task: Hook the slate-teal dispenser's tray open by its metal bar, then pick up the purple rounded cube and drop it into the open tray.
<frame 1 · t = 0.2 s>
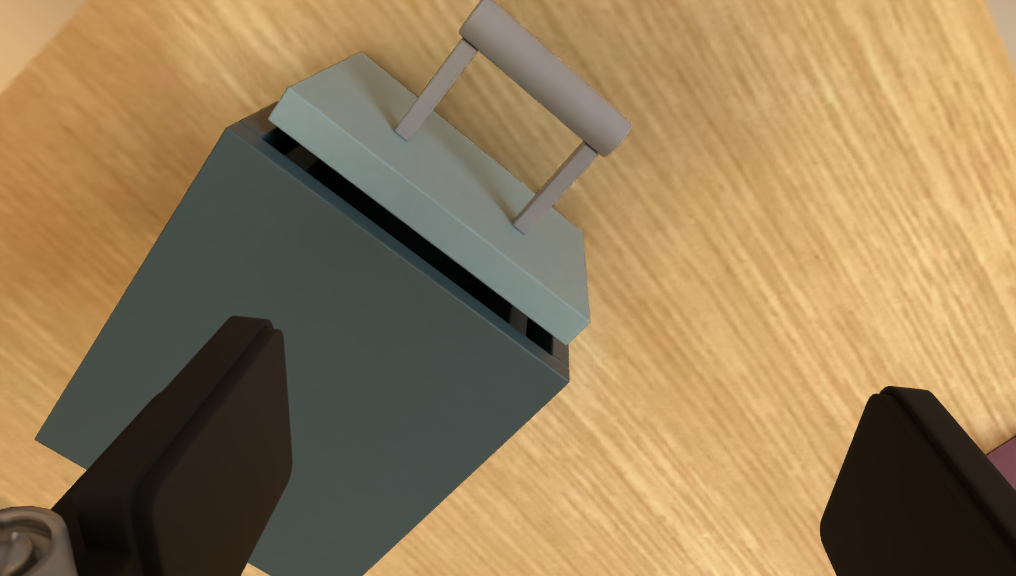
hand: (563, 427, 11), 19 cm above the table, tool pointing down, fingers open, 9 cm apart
dispenser: (361, 287, 31), on the table
tray: (397, 257, 25), point 5 cm above the table, slide at 0.5 cm
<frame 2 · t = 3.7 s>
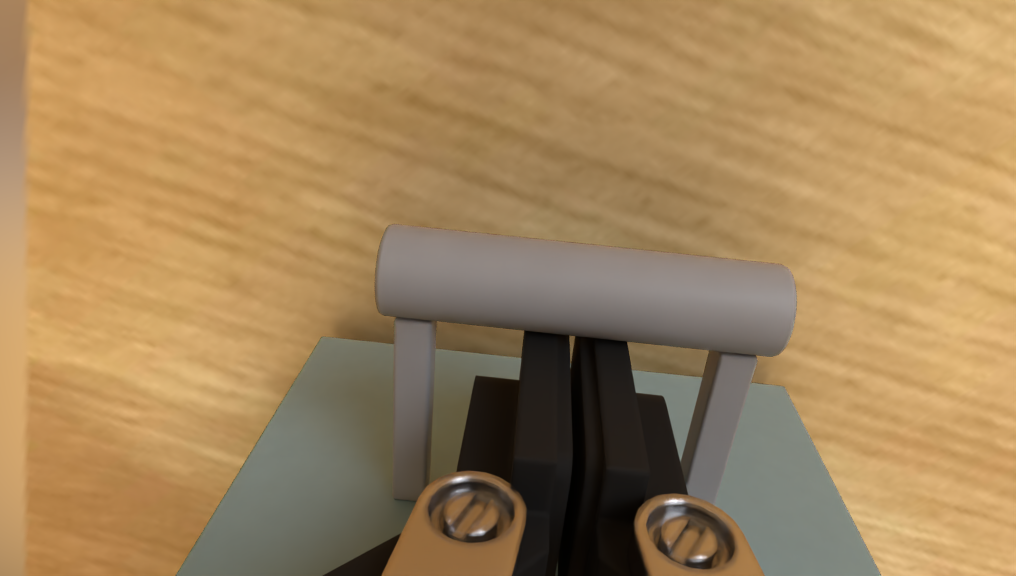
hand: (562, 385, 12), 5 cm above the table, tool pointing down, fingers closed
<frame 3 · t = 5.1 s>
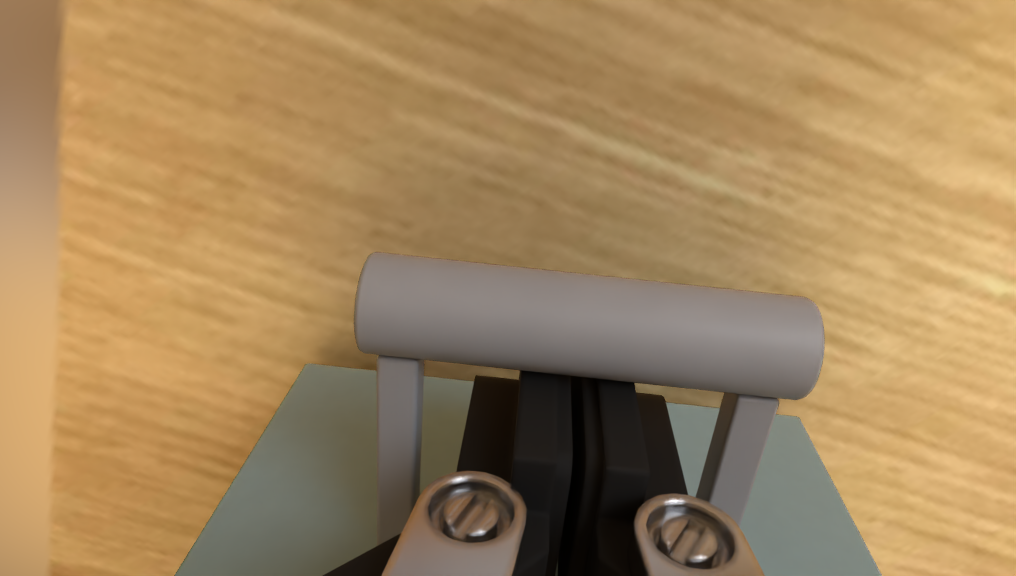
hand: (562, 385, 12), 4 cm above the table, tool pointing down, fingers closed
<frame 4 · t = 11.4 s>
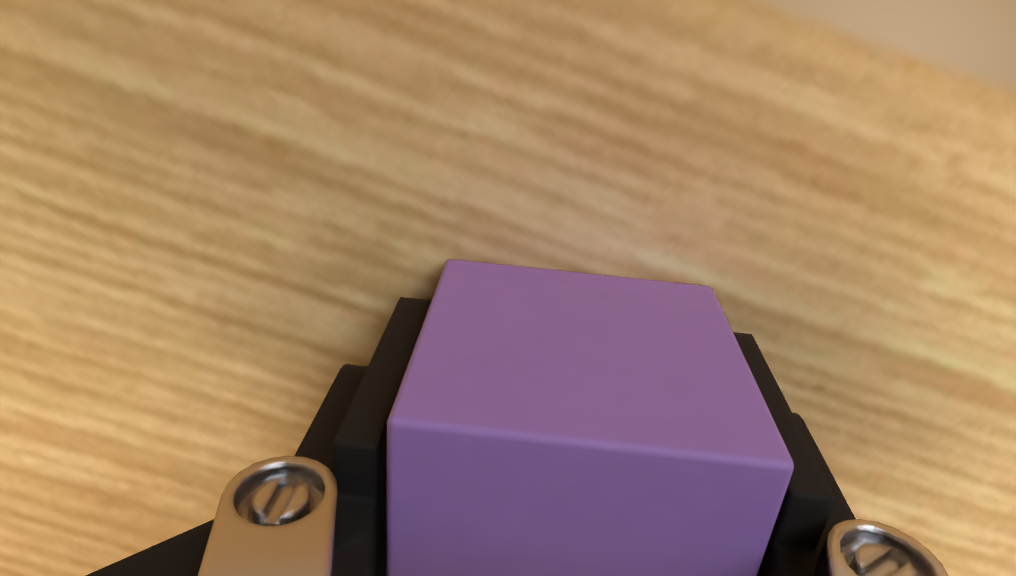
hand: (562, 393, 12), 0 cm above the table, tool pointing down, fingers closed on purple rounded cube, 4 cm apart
purple rounded cube: (562, 381, 12), on the table, touching gripper
when the fingers open (12 cm above the table, at t = 17.5 s): purple rounded cube drops 10 cm, resting on tray.
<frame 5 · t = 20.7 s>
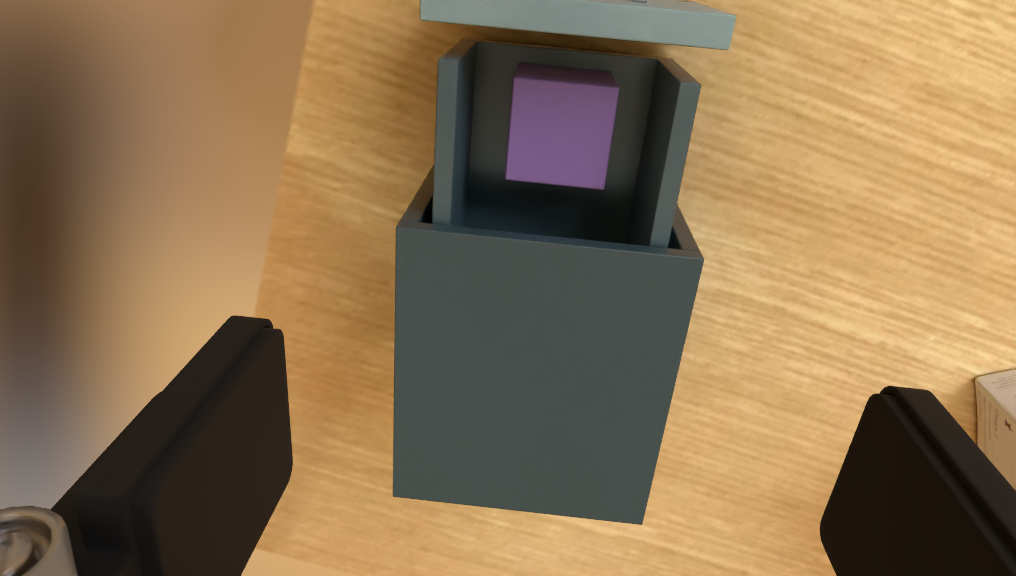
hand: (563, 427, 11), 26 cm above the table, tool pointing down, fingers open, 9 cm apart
purple rounded cube: (559, 114, 33), point 2 cm above the table, touching tray
dispenser: (537, 296, 39), on the table
tray: (563, 98, 30), point 5 cm above the table, slide at 7.9 cm, touching purple rounded cube
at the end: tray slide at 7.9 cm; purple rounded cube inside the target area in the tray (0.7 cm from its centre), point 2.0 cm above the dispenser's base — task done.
